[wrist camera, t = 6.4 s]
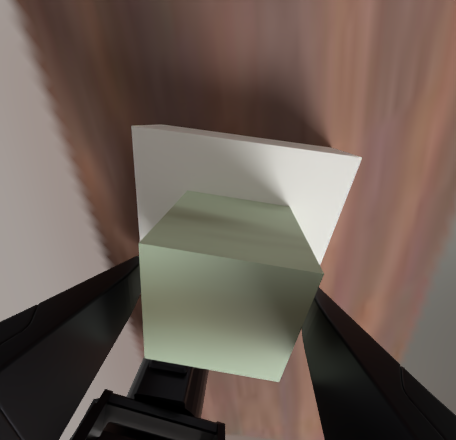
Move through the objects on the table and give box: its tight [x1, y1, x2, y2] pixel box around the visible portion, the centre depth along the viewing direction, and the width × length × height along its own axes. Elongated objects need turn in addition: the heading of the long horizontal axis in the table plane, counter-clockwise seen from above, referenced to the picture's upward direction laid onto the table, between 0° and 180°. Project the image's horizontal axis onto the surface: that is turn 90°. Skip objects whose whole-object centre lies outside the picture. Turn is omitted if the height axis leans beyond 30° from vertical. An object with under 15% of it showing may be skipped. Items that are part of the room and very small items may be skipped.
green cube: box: [139, 190, 324, 382], centre depth 9 cm, size 5×5×5 cm
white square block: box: [131, 124, 362, 265], centre depth 13 cm, size 10×10×4 cm
